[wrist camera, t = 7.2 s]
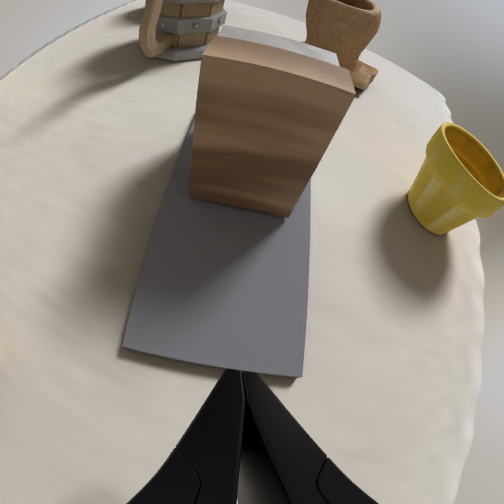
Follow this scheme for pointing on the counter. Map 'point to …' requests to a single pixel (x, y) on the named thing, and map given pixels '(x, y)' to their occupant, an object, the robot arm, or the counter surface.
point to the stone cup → (344, 33)
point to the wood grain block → (263, 123)
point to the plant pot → (455, 181)
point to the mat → (223, 283)
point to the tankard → (179, 28)
